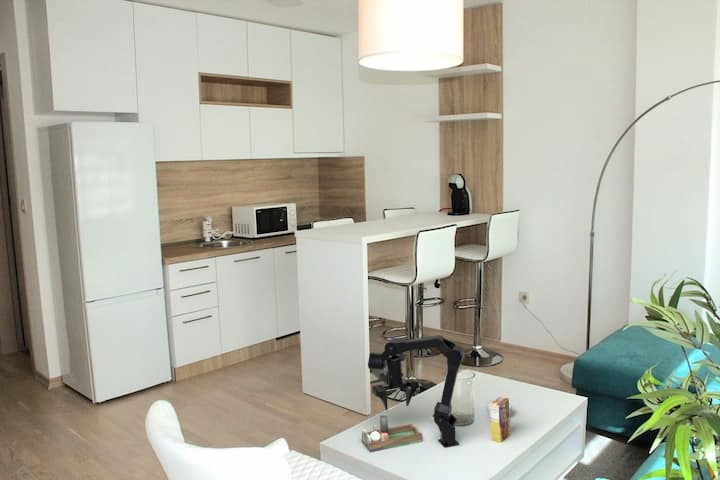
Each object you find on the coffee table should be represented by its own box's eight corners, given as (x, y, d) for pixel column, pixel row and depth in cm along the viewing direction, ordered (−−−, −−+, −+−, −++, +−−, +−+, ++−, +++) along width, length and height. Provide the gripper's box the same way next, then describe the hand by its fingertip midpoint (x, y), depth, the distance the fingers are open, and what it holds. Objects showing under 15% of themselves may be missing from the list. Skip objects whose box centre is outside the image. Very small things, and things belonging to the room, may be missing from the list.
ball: (369, 440, 237) (377, 447, 238) (376, 432, 237) (384, 438, 238) (366, 436, 241) (373, 442, 242) (373, 427, 241) (380, 433, 243)
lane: (422, 441, 241) (421, 427, 240) (370, 452, 234) (369, 437, 233) (412, 431, 250) (412, 417, 249) (362, 441, 243) (361, 427, 243)
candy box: (500, 432, 246) (500, 396, 244) (510, 434, 243) (509, 398, 241) (490, 440, 239) (489, 403, 237) (500, 443, 237) (499, 405, 235)
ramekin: (508, 410, 267) (508, 399, 266) (515, 421, 256) (515, 409, 255) (483, 412, 267) (482, 400, 266) (489, 422, 256) (488, 410, 255)
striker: (391, 443, 238) (390, 419, 237) (384, 444, 237) (383, 421, 236) (385, 435, 245) (384, 413, 244) (378, 437, 244) (377, 414, 243)
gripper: (407, 361, 253) (409, 396, 255) (365, 368, 247) (368, 405, 248) (419, 368, 242) (421, 406, 244) (375, 376, 236) (378, 415, 238)
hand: (396, 407), depth 244 cm, fingers open, 9 cm apart
